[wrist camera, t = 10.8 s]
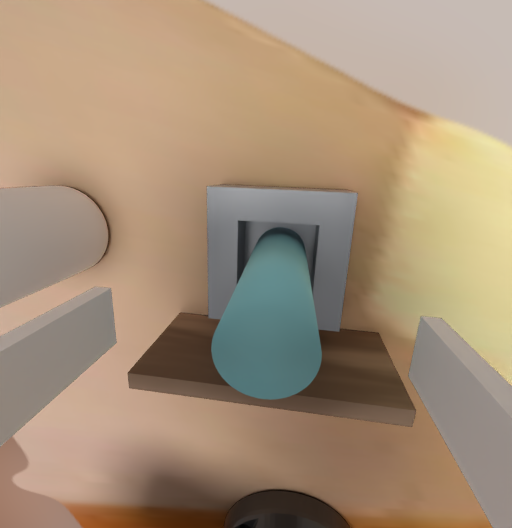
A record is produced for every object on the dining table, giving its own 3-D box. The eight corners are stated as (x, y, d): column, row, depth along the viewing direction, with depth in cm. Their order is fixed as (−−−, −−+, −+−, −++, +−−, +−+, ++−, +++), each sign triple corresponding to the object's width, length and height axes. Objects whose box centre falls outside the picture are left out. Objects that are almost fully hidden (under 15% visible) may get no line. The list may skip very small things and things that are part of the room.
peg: (303, 276, 24) (316, 404, 11) (254, 273, 25) (212, 393, 12) (307, 228, 23) (327, 308, 10) (256, 226, 24) (210, 299, 10)
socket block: (333, 308, 26) (339, 331, 22) (221, 298, 27) (208, 318, 23) (348, 189, 23) (357, 193, 19) (221, 184, 24) (206, 186, 20)
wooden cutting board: (376, 345, 26) (412, 427, 18) (180, 324, 29) (129, 388, 20) (378, 333, 26) (416, 410, 17) (180, 312, 28) (127, 372, 20)
